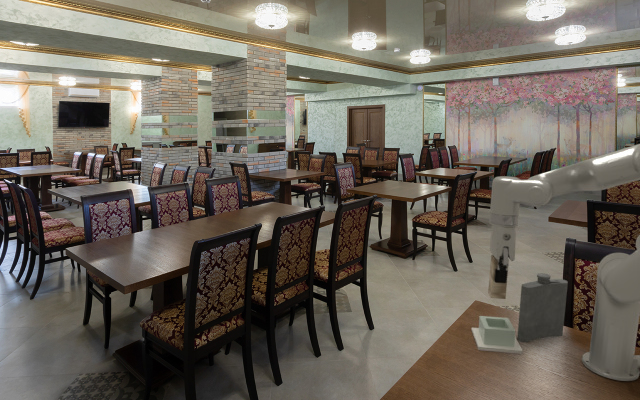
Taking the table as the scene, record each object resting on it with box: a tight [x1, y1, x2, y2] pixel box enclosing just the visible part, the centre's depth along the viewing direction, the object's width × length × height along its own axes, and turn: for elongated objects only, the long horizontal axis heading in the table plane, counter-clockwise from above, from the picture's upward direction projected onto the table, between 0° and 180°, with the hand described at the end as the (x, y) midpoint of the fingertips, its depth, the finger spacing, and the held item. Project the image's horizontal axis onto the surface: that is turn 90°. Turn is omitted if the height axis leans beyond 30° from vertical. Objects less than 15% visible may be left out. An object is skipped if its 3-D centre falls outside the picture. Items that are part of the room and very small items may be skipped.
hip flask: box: [516, 272, 569, 343], centre depth 124 cm, size 16×4×20 cm, turn 105°
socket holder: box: [471, 315, 524, 355], centre depth 123 cm, size 12×12×6 cm
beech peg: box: [488, 254, 510, 300], centre depth 120 cm, size 4×4×12 cm
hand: (498, 279), depth 120 cm, fingers closed on beech peg, 4 cm apart
